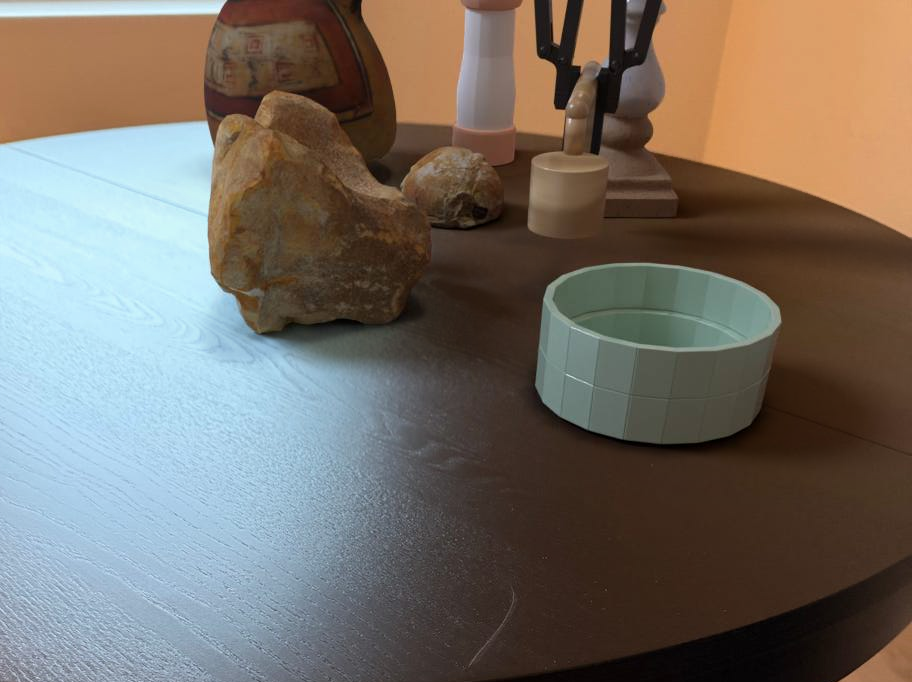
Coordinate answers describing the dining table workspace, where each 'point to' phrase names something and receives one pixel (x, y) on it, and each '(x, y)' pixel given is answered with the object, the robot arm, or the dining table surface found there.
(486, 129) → the pepper shaker
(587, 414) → the mixing bowl
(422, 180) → the bread roll
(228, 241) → the rough brown rock
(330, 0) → the reddish ceramic vase
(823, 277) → the dining table surface
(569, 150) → the hooked weight
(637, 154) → the candle holder
